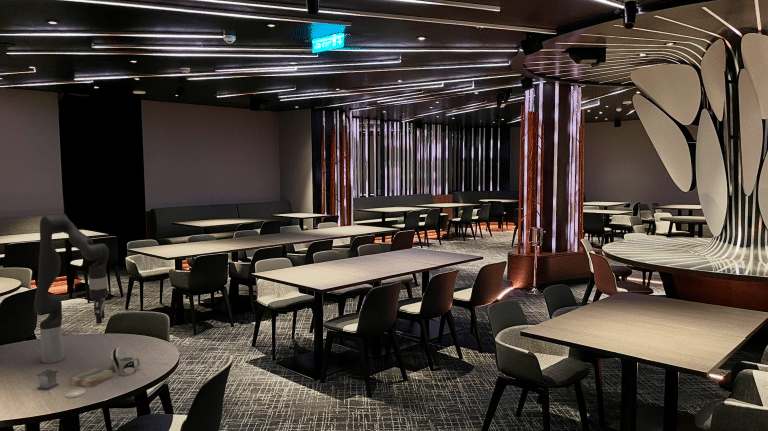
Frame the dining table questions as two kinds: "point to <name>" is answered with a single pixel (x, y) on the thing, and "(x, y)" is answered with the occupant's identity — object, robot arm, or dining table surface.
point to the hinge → (117, 357)
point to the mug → (127, 366)
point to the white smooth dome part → (75, 393)
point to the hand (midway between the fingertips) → (100, 321)
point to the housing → (47, 379)
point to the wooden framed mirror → (91, 377)
